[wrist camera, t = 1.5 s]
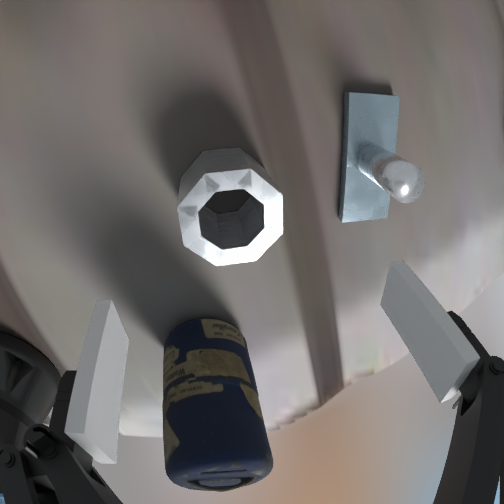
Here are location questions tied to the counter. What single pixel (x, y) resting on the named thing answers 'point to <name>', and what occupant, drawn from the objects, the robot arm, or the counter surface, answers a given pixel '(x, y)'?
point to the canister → (212, 409)
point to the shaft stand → (373, 159)
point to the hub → (230, 223)
